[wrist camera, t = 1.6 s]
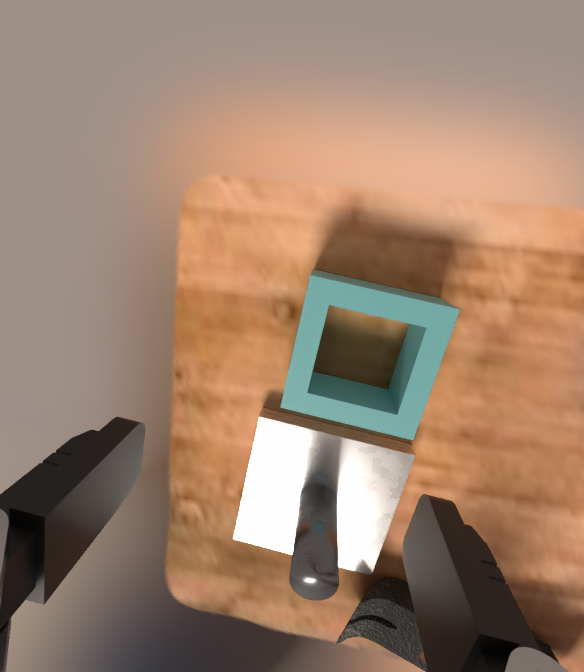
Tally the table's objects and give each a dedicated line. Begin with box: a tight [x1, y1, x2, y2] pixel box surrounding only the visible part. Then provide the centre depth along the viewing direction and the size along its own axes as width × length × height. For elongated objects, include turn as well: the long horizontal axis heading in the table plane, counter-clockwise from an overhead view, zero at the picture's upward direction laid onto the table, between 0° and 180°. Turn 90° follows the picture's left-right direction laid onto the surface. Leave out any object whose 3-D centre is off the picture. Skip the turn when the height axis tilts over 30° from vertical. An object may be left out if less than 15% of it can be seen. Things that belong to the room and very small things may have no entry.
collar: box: [280, 269, 460, 440], centre depth 24 cm, size 9×9×4 cm
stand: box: [233, 408, 415, 600], centre depth 26 cm, size 12×12×8 cm
